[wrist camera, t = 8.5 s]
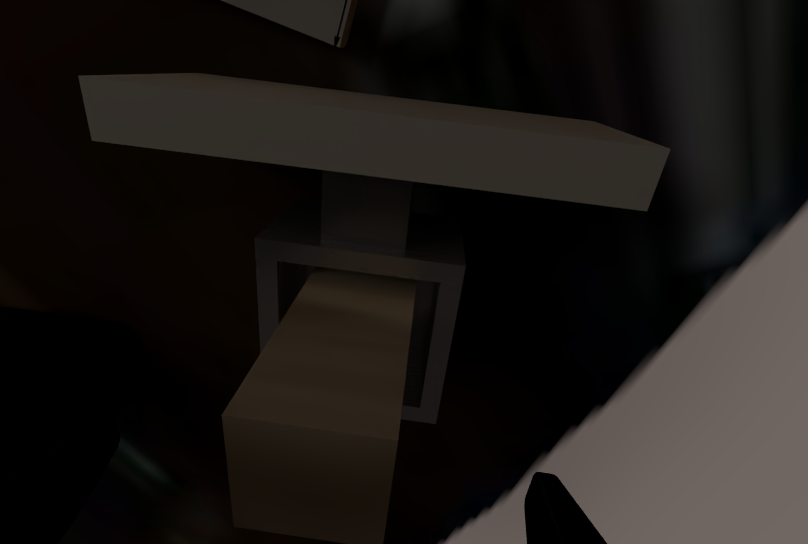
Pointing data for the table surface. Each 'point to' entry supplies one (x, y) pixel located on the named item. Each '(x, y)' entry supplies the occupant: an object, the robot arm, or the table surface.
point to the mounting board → (375, 136)
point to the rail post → (323, 411)
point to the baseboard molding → (307, 16)
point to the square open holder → (370, 266)
